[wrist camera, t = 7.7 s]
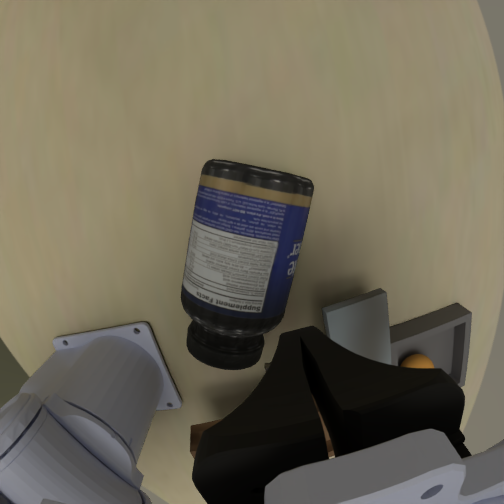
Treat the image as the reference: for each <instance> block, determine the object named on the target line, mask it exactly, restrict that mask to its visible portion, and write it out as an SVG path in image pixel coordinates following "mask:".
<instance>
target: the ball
mask: <svg viewBox="0 0 504 504" xmlns="http://www.w3.org/2000/svg"><path fill="white" fill-rule="evenodd" d="M401 367H410V368H434V365H433V363H432V361H431V360H430V359H429V358H428V357H427V356H425V355H422V354H414V355H411V356H409V357H407V358H406V359H405V360H404V361H403V362H402V364H401Z"/></svg>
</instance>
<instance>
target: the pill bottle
mask: <svg viewBox="0 0 504 504" xmlns="http://www.w3.org/2000/svg"><path fill="white" fill-rule="evenodd" d="M313 191H314V186H313V183H312V181H311V180H310V179H308V178H305V177H301V176H297V175H293V174H290V173H285V172H281V171H276V170H270V169H266V168H262V167H257V166H252V165H247V164H242V163H237V162H232V161H227V160H215V159H212V160H209V161H207V162H206V163H205V165H204V167H203V169H202V172H201V178H200V183H199V188H198V193H197V197H196V202H195V209H194V214H193V221H192V226H191V233H190V238H189V244H188V251H187V257H186V264H185V270H184V277H183V283H182V291H181V302H182V305H183V308H184V310H185V312H186V313H187V314H188V315H189V316H190V318H191V319H193V320H192V322H191V324H190V325H189V327H188V333H187V348H188V350H189V352H190V353H191V354H192V356H194V357H195V358H196V359H197V360H199V361H201V362H202V363H205V364H207V365H209V366H212V367H216V368H220V369H225V370H241V369H245V368H249V367H251V366H253V365H255V364H256V363H257V362H258V361H259V359H260V357H261V354H262V349H263V347H264V337H263V334H265V333H266V332H269V331H270V330H272V329H274V328H275V327H276V326H277V325H278V324H279V323H280V322H281V320H282V318H283V316H284V313H285V307H286V304H287V300H288V296H289V292H290V288H291V284H292V280H293V276H294V273H295V268H296V265H297V260H298V256H299V252H300V248H301V244H302V240H303V235H304V231H305V227H306V222H307V218H308V214H309V209H310V205H311V200H312V195H313Z"/></svg>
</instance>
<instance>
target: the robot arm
mask: <svg viewBox="0 0 504 504" xmlns="http://www.w3.org/2000/svg"><path fill="white" fill-rule="evenodd" d="M135 328H138V329H139V330H140V332H137V331H136V330H135ZM65 340H66V341H67V342H68V343H66V342H65ZM53 345H54V347H55V349H56V352H55V353H54V354H53V355H52V356H51V357H50V358H49V359H48V360H47V361H46V362H45V363H44V364H43V365H42V366H41V367H40V368H39V369H38V370H37V371H36V372H35V373H34V374H33V375H32V376H31V377H30V378H29V379H28V380H27V381H26V382H25V383H24V385H23V386H22V388H21V390H20V392H19V394H17V395H16V396H14V397H13V398H12V399H11V400H10V401H8V402H7V403H6V404H5V405H4V406H3V407H2V408H0V504H152V502H151V500H150V498H149V497H148V496H147V495H146V493H144V492H143V491H141V490H140V486H141V483H142V480H143V477H144V475H143V474H142V473H141V472H139V470H138V469H137V468H136V464H137V461H138V458H139V455H140V453H141V450H142V447H143V444H144V441H145V438H146V436H147V433H148V430H149V427H150V425H151V422H152V419H153V416H154V414H155V411H157V410H167V409H177V408H180V407H181V405H182V400H181V398H180V396H179V394H178V392H177V389H176V387H175V385H174V383H173V381H172V378H171V376H170V374H169V372H168V369H167V367H166V365H165V362H164V360H163V358H162V355H161V353H160V350H159V348H158V346H157V343H156V341H155V338H154V336H153V333H152V331H151V328H150V326H149V324H147V323H146V322H138V323H133V324H128V325H123V326H117V327H112V328H107V329H101V330H95V331H90V332H84V333H78V334H72V335H66V336H60V337H56V338H54V339H53ZM312 394H313V397H314V399H315V402H316V404H317V407H318V409H319V412H320V414H321V416H322V419H323V421H324V424H325V426H326V429H327V431H328V434H329V437H330V440H331V443H332V447H333V451H334V454H335V458H332V459H329V456H328V450H327V444H326V438H325V433H324V430H323V426H322V422H321V419H320V416H319V414H318V411H317V408H316V406H315V403H314V400H313V397H312ZM169 403H172V404H169ZM464 405H465V396H464V393H463V390H462V389H461V388H460V387H459V385H458V384H457V383H456V382H455V381H454V380H453V379H452V378H451V377H450V376H449V375H448V374H447V373H446V372H445V371H444V370H442V369H441V368H410V367H401V366H395V365H390V364H386V363H382V362H378V361H374V360H371V359H368V358H366V357H363V356H361V355H358V354H356V353H354V352H352V351H350V350H348V349H346V348H344V347H342V346H341V345H339V344H338V343H336V342H335V341H333V340H332V339H330V338H329V337H327V336H326V335H325V334H323V333H322V332H321V331H320V330H319V329H317V328H316V327H314V326H309V327H305V328H301V329H297V330H293V331H289V332H285V333H282V334H281V335H280V337H279V343H278V346H277V349H276V352H275V355H274V357H273V359H272V362H271V364H270V366H269V368H268V370H267V372H266V373H265V375H264V377H263V378H262V380H261V382H260V383H259V384H258V386H257V387H256V389H255V390H254V391H253V392H252V394H251V395H250V396H249V397H248V398H247V399H246V400H245V401H244V402H243V403H242V404H241V405H240V406H239V407H238V408H237V409H235V410H234V411H233V412H232V413H230V414H229V415H228V416H227V417H225V418H224V419H222V420H221V421H219V422H218V423H216V424H215V425H213V426H211V427H210V428H208V429H207V430H205V431H203V433H202V436H201V439H200V442H199V444H198V447H197V450H196V454H195V460H194V466H193V473H192V480H193V482H194V485H195V487H196V488H197V490H198V491H199V493H200V494H201V495H202V497H203V498H204V500H205V501H206V502H207V504H504V439H503V440H502V441H500V442H499V443H497V444H496V445H494V446H493V447H491V448H489V449H487V450H486V451H484V452H481V453H478V454H475V455H471V454H470V452H469V451H468V449H467V448H466V446H465V445H464V444H463V442H464V441H465V437H464V435H463V434H462V432H461V431H460V429H459V428H460V424H461V419H462V415H463V410H464Z"/></svg>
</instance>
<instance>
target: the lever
mask: <svg viewBox="0 0 504 504" xmlns="http://www.w3.org/2000/svg"><path fill="white" fill-rule="evenodd" d="M322 313H323V318H324V324H325V330H326V336H327V337H329V338H330V339H332V340H333V341H335V342H336V343H338V344H339V345H341V346H342V347H344V348H346V349H348V350H350V351H352V352H354V353H356V354H358V355H361V356H363V357H366V358H368V359H371V360H374V361H378V362H382V363H386V364H390V365H391V345H390V329H389V315H388V303H387V293H386V291H384V290H382V289H381V288H379V289H376V290H374V291H371V292H368V293H365V294H362V295H359V296H356V297H354V298H351V299H348V300H345V301H342V302H339V303H336V304H333V305H330V306H327V307H324V308H322ZM312 397H313V394H312ZM313 400H314V403H315V406H316V408H317V411H318V414H319V416H320V419H321V422H322V426H323V430H324V433H325V438H326V444H327V450H328V456H329V457H331V456H334V455H335V454H334V451H333V447H332V443H331V440H330V437H329V434H328V431H327V429H326V426H325V424H324V421H323V419H322V416H321V414H320V412H319V409H318V407H317V404H316V402H315V399H314V397H313ZM221 420H222V419H220V420H216V421H211V422H207V423H202V424H197V425H192V426H191V437H190V452H191V454H192V456H193V458H194V459H195V454H196V450H197V447H198V444H199V442H200V439H201V436H202V433H203V431H205V430H207V429H208V428H210V427H211V426H213V425H215V424H216V423H218V422H219V421H221Z"/></svg>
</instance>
